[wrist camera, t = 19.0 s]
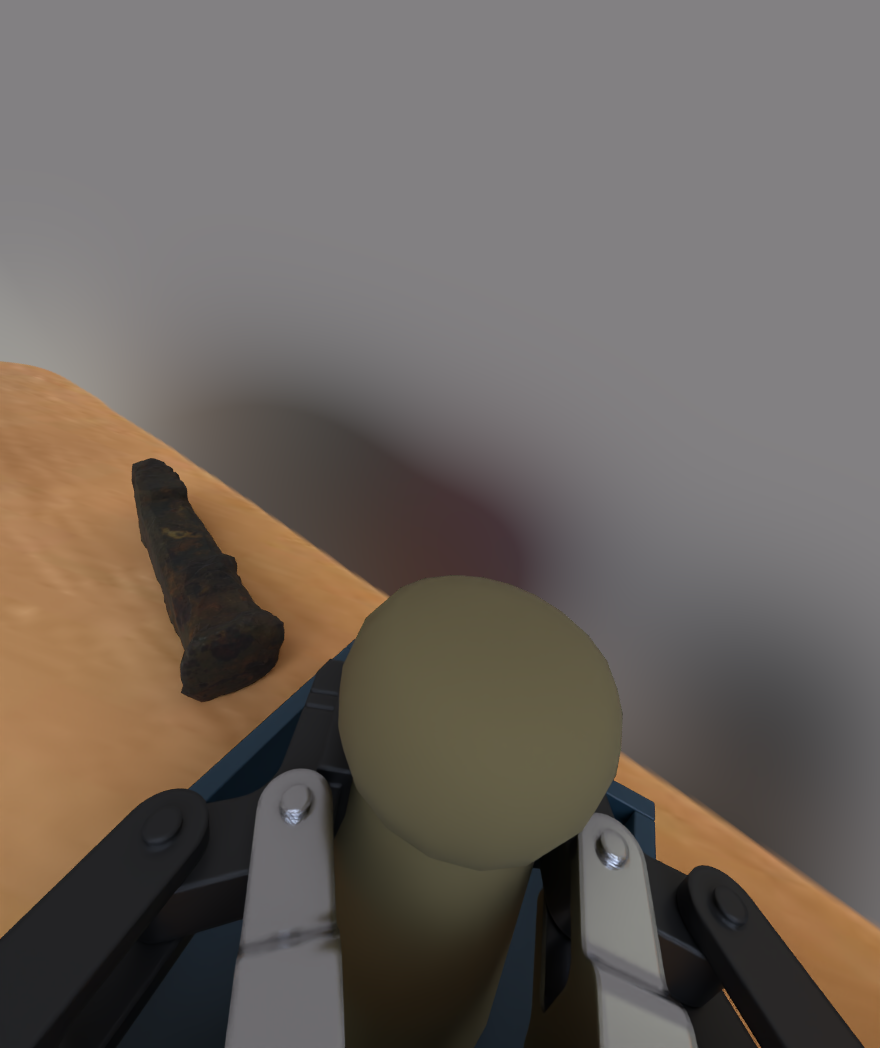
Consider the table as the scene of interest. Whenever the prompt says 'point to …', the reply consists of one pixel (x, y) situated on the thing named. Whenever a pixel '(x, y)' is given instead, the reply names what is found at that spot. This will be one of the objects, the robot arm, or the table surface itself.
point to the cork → (457, 795)
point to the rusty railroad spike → (202, 591)
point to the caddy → (210, 957)
